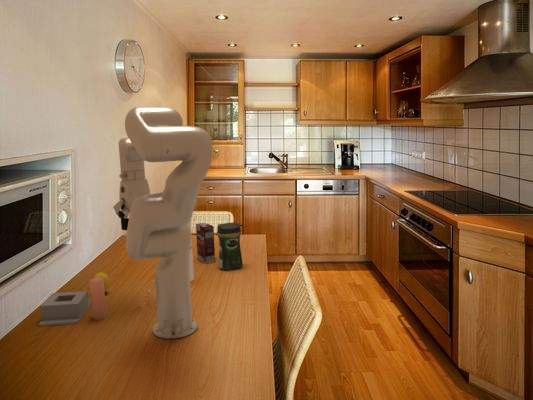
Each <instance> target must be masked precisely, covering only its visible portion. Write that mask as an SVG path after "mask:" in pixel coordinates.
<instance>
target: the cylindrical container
mask: <svg viewBox="0 0 533 400" xmlns="http://www.w3.org/2000/svg"><path fill="white" fill-rule="evenodd" d="M187 225H188V227H189V228H190V231H191V232H192V218H191V219H190V221H189V223H188V224H187ZM189 275H190V282H193V281H194V279H195V277H194V255H193V239H192V233H191V244H190V252H189Z"/></svg>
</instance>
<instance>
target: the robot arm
mask: <svg viewBox="0 0 533 400" xmlns="http://www.w3.org/2000/svg"><path fill="white" fill-rule="evenodd" d="M124 129H125V130H124V131H125V133H126V136H127V137H124V138H123V137H121V138H120V139H119V140H118V154H119V164H120V167H119V168H120V174H119V175H118V177H119V178H120V179H121V181H120V183H119V194H118V195H119V200H118V202H116V203H115V204H114V206H113V210H114V212H115V214H116V215H117V216H118V218H119V219H120V225H121V226H120V227H121V230H122V231H125V232H126V234H125V248H126V253H127V254H128V256H129V257H130V259H131V260H134V261H146V260H152V259H157V258H160V259H159V260H158V262H157V264H156V266H155V271H154V281H155V284H154V285H155V296H156V311H157V312H156V315H157V322H156V323H155V324H154V325H153V327H152V332H153V334H154V335H155V336H156V337H158V338H161V339H169V340H170V339H180V338H185V337H187V336H190V335H192V334H193V333H194V332H196V331H197V329H198V322H197V320H196V319H194V318H193V317H192V314H193V313H192V297H191V281H190V275H189V252H190V244H191V234H192V230H191V231H190V228H189V227H188V225H187V224H188V223H189V221H190V219H191V220H192V217H193V213H194V210H195V207H196V203H197V199H198V195H199V191H200V188H201V186H202V184H203V182H204V180H205V178H206V176H207V174H208V172H209V170H210V167H211V164H212V158H213V141H212V137H211V135H210V134H209V132H208V131H207V130H206V129H203V128H202V127H198V126H193V125H184V121H183V117H182V115H181V114H180V113H179V111H177V110H176V109H174V108H171V107H167V106H138V107H133V108H131V109H130V110H129V111H128V112H127V113H126V116H125V119H124ZM145 162H148V163H164V162H165V163H166V162H180V164H178V165H177V166H176V167H175V168H174V169H173V170H172V171H171V172H170V174H169V175H168V176H167V178H166V181H165V184H164V189H163V190H162V191H161V192H157V193H151V190H150V185H149V184H150V183H149V182H148V179H147V178H146V172H145Z"/></svg>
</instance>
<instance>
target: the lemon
mask: <svg viewBox="0 0 533 400" xmlns="http://www.w3.org/2000/svg"><path fill="white" fill-rule="evenodd" d="M93 278H103V280H104V292H105V293H106V292H107V291H108V289H109V287H110V279H109V276H108V274H107V273H105V272H102V271H99V272H97V273H96V274H95V275H94V276H93Z"/></svg>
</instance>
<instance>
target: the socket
mask: <svg viewBox="0 0 533 400" xmlns="http://www.w3.org/2000/svg"><path fill="white" fill-rule="evenodd" d="M89 299H90V298H89V291H88V290H85V291H84V290H83V291H82V290H80V291H79V290H78V291H67V292H66V291H65V292H52V293H51V294H50V295H49V296H48V297H47V298H46V299H45V300H44V302H43V303H41V305H40V306H39V309H40V316H41V317H40V318H41V320H40V322H39V323H38V326H39V327H49V326H51V327H52V326H61V325H62V326H63V325H76V324H79V323H80V321H81V319H82V318H83V316H84V315H85V314H86V312H87V311H88V309H89V307H90V306H92V303H91V300H89Z"/></svg>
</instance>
